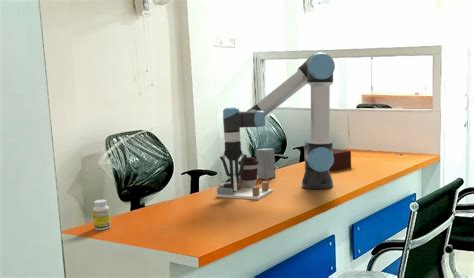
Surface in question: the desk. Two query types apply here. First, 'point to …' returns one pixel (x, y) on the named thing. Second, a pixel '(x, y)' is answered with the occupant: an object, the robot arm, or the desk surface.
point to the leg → (229, 185)
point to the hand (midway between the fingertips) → (235, 190)
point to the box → (341, 160)
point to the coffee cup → (249, 172)
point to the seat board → (244, 192)
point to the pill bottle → (101, 215)
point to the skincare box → (265, 163)
